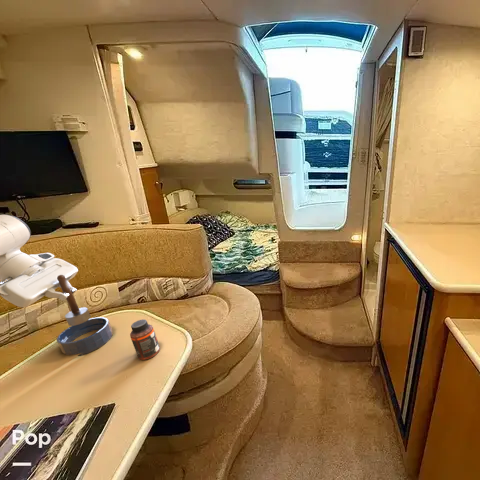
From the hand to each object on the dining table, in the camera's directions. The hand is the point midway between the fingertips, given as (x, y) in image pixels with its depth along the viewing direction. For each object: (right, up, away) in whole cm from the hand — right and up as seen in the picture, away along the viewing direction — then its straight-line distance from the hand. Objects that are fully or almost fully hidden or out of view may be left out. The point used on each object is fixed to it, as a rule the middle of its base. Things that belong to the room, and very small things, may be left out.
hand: (70, 295), depth 84 cm
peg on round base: (0, -9, +3) cm, 9 cm away
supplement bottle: (+25, -18, -1) cm, 31 cm away
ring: (+1, -17, +6) cm, 18 cm away
